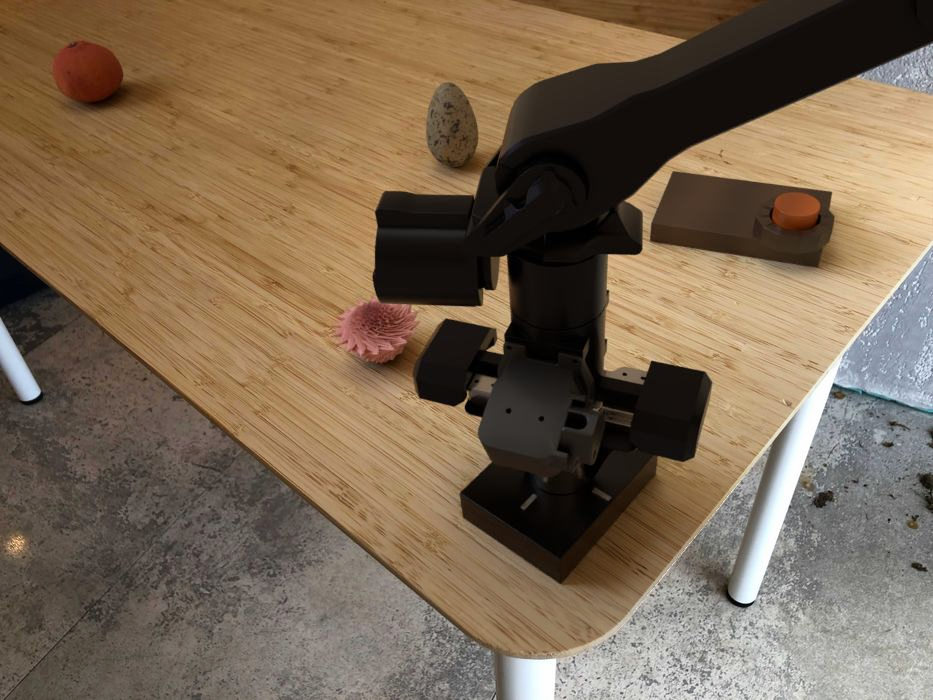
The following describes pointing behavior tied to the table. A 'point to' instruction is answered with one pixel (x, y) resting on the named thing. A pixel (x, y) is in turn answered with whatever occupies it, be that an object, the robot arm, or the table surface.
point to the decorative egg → (451, 126)
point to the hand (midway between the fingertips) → (559, 465)
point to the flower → (376, 329)
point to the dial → (563, 481)
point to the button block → (737, 219)
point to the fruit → (87, 71)
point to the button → (796, 211)
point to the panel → (554, 510)
